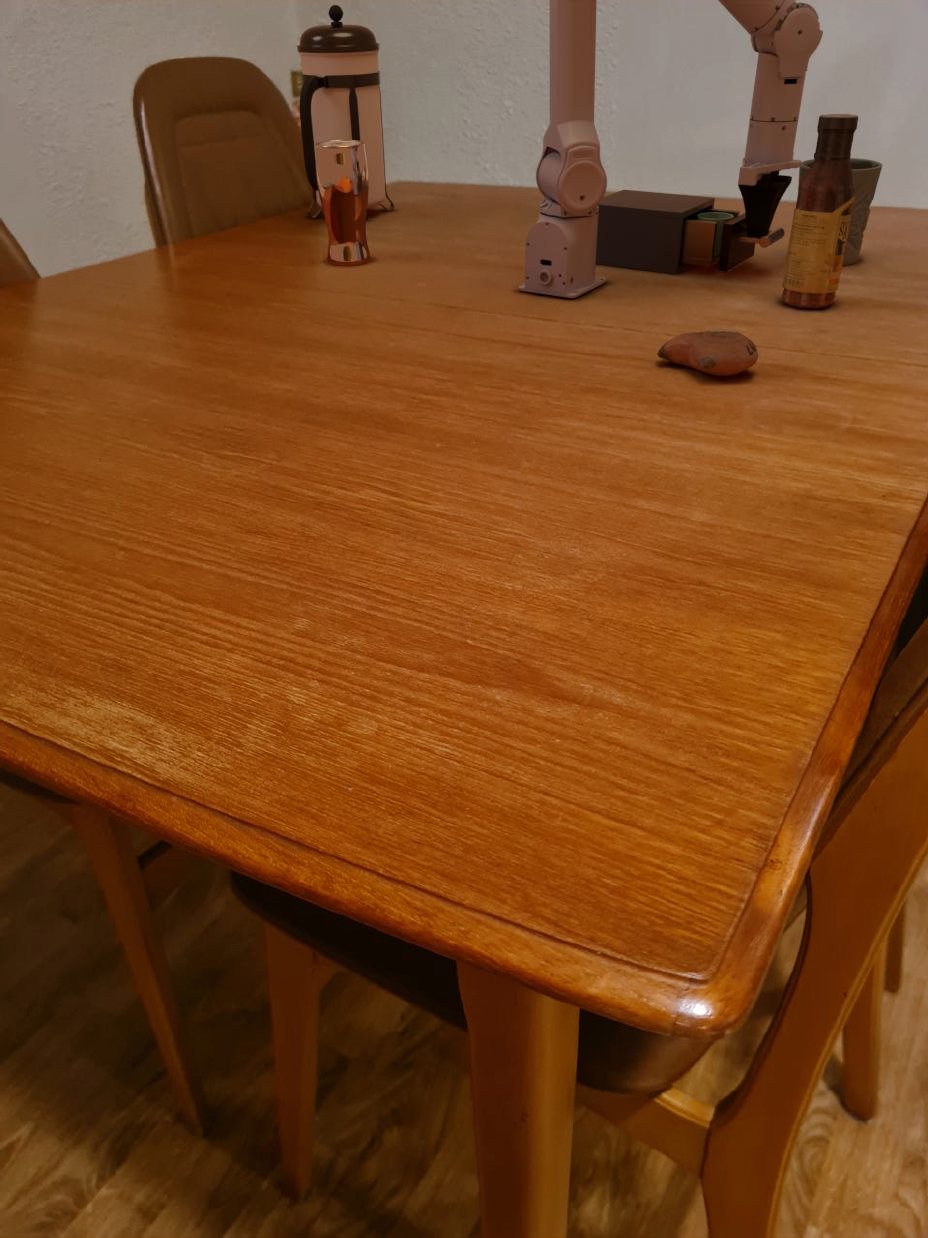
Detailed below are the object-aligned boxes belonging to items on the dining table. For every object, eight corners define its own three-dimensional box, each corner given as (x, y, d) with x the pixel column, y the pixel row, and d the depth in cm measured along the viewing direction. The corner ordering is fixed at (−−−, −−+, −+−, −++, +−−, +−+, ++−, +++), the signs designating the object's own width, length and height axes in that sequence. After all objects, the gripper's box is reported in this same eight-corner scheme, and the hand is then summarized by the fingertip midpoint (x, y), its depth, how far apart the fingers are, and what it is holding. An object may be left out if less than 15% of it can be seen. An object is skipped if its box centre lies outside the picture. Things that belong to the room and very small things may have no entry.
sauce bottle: (837, 311, 110) (875, 118, 99) (781, 309, 111) (813, 118, 100) (831, 296, 116) (866, 111, 105) (777, 294, 117) (807, 111, 106)
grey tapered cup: (878, 262, 129) (899, 165, 122) (817, 270, 126) (835, 171, 119) (828, 247, 137) (845, 154, 130) (769, 254, 134) (784, 160, 127)
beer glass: (377, 254, 137) (370, 139, 129) (368, 266, 132) (360, 146, 123) (330, 254, 138) (320, 139, 130) (319, 266, 132) (308, 146, 124)
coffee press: (294, 209, 166) (272, 5, 150) (383, 202, 170) (371, 2, 154) (311, 229, 153) (289, 6, 136) (408, 221, 156) (398, 3, 140)
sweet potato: (717, 359, 100) (649, 370, 97) (719, 319, 98) (650, 330, 95) (770, 375, 92) (698, 387, 90) (773, 332, 90) (700, 343, 88)
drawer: (785, 259, 128) (792, 212, 124) (759, 276, 120) (766, 227, 117) (667, 245, 135) (672, 201, 132) (636, 260, 128) (640, 214, 125)
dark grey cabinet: (708, 255, 134) (715, 197, 129) (675, 274, 126) (682, 212, 121) (619, 245, 140) (623, 189, 136) (583, 262, 132) (586, 202, 128)
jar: (721, 256, 125) (726, 220, 122) (688, 252, 127) (692, 216, 124) (733, 249, 128) (738, 214, 125) (701, 245, 130) (705, 210, 128)
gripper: (787, 127, 109) (768, 252, 116) (824, 114, 119) (804, 229, 126) (728, 124, 112) (713, 245, 120) (768, 111, 122) (752, 224, 130)
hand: (756, 237), depth 123 cm, fingers closed
